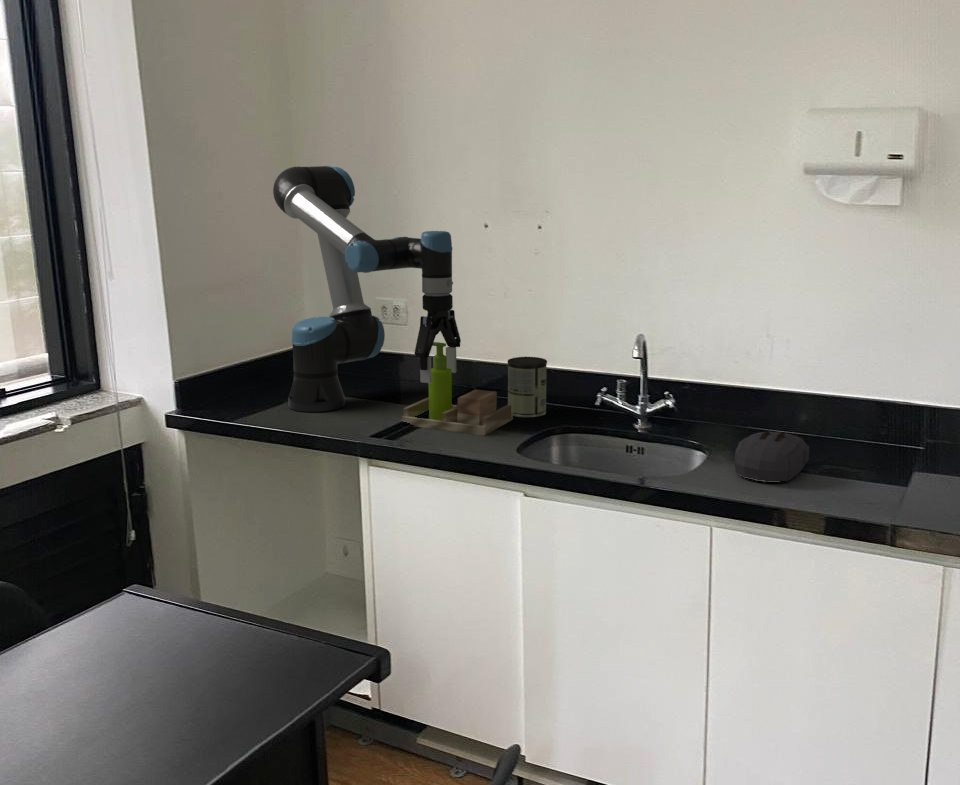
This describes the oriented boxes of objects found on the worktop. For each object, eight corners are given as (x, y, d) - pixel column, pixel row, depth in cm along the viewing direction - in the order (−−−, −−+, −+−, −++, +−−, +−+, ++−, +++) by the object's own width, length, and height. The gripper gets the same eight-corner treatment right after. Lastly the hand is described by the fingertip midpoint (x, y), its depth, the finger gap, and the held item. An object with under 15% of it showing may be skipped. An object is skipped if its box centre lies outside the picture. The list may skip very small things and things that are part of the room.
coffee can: (508, 407, 273) (508, 356, 270) (546, 408, 272) (547, 356, 269) (505, 417, 263) (506, 363, 260) (545, 418, 262) (546, 364, 259)
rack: (401, 424, 256) (401, 409, 255) (433, 409, 270) (433, 395, 269) (484, 435, 246) (484, 419, 245) (512, 419, 260) (512, 404, 259)
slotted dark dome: (745, 455, 230) (721, 480, 213) (748, 420, 229) (723, 442, 211) (814, 465, 223) (795, 491, 206) (817, 428, 222) (798, 452, 204)
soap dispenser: (429, 415, 264) (429, 340, 259) (455, 417, 262) (454, 341, 257) (421, 421, 259) (420, 344, 254) (447, 423, 257) (446, 345, 252)
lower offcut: (457, 429, 253) (457, 413, 252) (475, 419, 261) (475, 404, 260) (479, 431, 250) (479, 416, 249) (496, 422, 259) (496, 407, 258)
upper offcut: (457, 413, 252) (457, 397, 251) (475, 404, 260) (475, 389, 260) (479, 416, 249) (479, 400, 248) (496, 407, 258) (496, 391, 257)
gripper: (426, 300, 240) (428, 388, 245) (473, 288, 262) (473, 369, 267) (399, 299, 244) (401, 385, 248) (447, 287, 265) (448, 367, 270)
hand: (438, 377), depth 258 cm, fingers open, 13 cm apart
